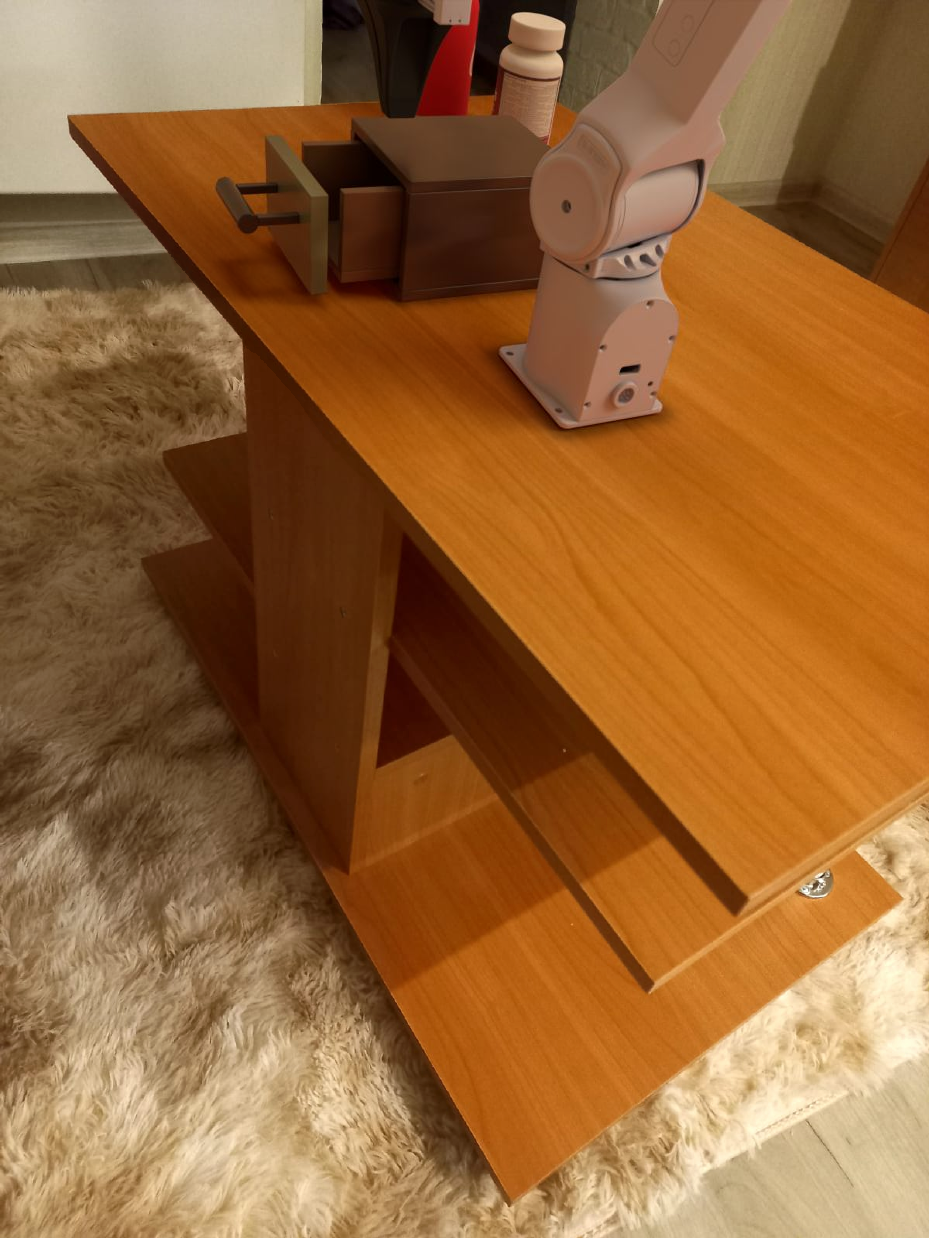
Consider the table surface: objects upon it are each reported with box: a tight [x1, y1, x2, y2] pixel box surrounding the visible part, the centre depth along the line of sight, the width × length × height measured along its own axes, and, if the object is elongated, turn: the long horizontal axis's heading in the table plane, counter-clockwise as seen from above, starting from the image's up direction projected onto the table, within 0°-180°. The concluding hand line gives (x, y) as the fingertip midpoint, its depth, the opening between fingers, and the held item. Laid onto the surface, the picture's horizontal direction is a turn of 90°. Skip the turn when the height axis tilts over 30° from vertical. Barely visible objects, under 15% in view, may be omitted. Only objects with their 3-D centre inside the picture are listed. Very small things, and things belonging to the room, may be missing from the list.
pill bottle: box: [491, 11, 566, 146], centre depth 85 cm, size 6×6×11 cm
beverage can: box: [415, 0, 480, 116], centre depth 88 cm, size 6×6×12 cm
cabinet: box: [349, 114, 553, 303], centre depth 67 cm, size 14×12×9 cm
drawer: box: [214, 134, 406, 296], centre depth 64 cm, size 17×10×7 cm, turn 115°
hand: (398, 115), depth 61 cm, fingers closed
